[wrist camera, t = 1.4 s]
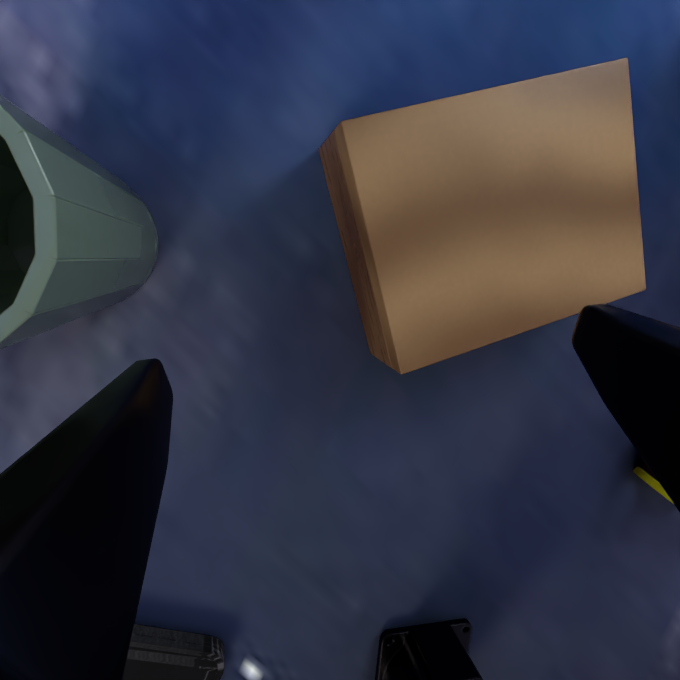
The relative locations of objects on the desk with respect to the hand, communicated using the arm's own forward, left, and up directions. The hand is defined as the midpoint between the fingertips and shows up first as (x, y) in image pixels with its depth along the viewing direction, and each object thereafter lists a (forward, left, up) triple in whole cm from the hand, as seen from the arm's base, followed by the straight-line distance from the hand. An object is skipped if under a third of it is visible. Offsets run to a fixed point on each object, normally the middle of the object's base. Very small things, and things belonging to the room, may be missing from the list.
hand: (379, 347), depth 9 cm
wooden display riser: (+4, -9, -14) cm, 17 cm away
